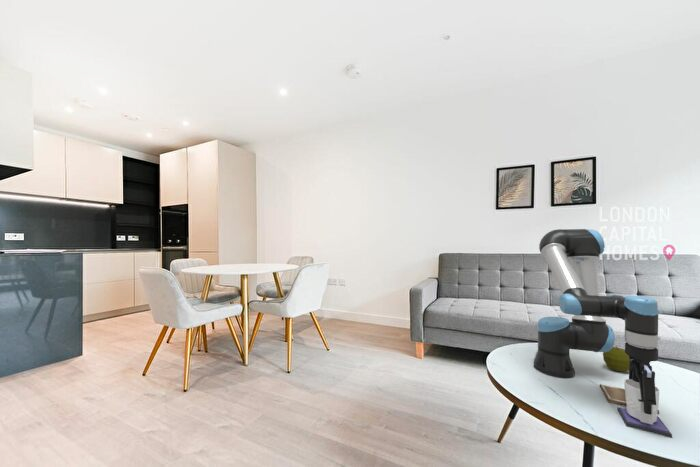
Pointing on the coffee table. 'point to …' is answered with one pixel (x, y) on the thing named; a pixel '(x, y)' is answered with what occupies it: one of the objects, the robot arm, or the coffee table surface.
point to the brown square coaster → (614, 395)
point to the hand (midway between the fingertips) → (641, 415)
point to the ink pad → (644, 424)
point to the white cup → (632, 399)
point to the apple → (617, 359)
